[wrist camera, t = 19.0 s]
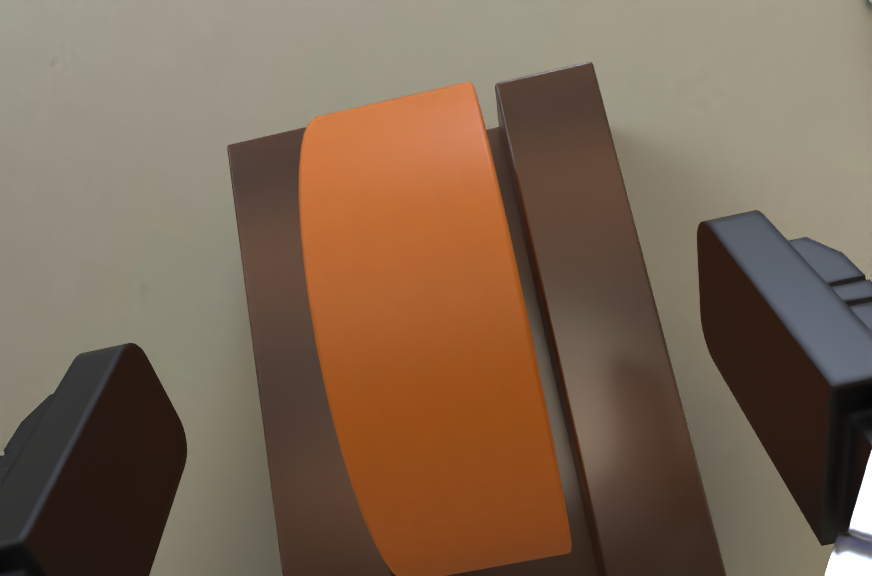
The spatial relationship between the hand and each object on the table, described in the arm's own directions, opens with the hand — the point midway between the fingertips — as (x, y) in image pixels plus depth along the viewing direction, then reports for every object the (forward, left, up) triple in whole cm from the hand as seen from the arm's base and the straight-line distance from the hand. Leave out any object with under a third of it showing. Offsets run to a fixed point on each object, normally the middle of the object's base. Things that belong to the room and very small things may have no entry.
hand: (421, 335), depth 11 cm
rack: (-1, +1, -10) cm, 10 cm away
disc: (-1, +1, -9) cm, 9 cm away
